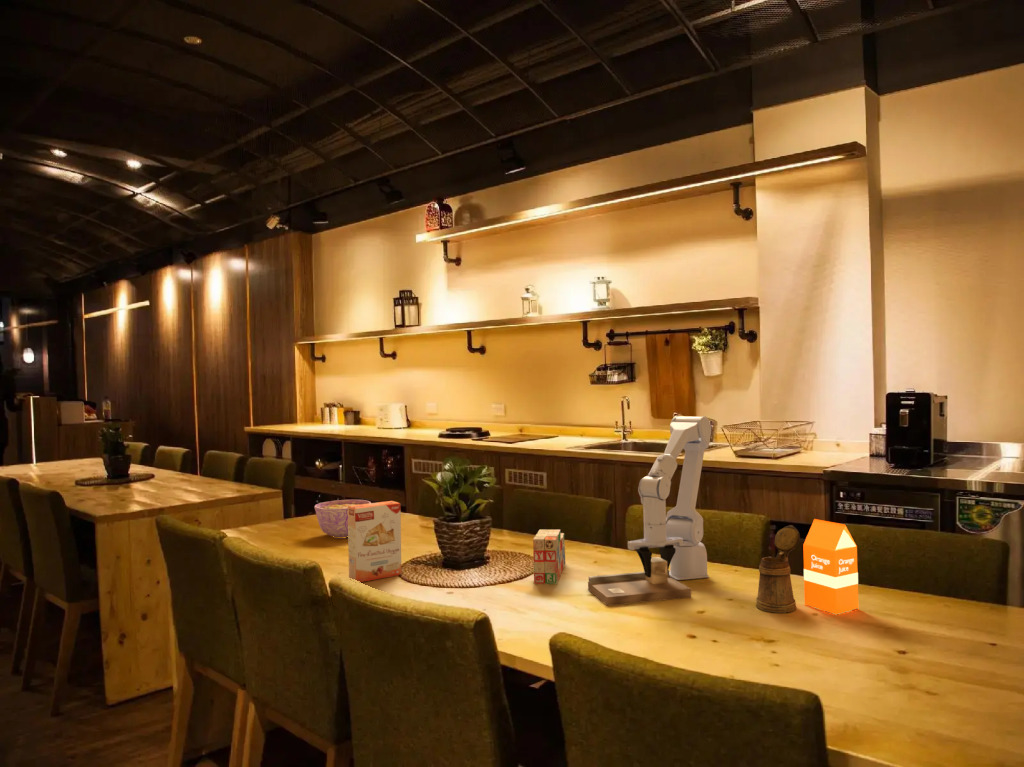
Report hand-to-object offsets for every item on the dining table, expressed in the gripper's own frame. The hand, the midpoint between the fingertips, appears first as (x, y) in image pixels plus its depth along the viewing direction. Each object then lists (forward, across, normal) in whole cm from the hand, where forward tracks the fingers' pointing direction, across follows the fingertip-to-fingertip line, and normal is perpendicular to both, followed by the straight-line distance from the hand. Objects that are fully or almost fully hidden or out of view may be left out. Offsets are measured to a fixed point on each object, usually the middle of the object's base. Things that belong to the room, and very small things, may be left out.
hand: (656, 575), depth 187 cm
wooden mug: (+4, +22, -21) cm, 31 cm away
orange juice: (+4, +32, -26) cm, 42 cm away
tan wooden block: (+1, 0, 0) cm, 1 cm away
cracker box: (+4, -70, +35) cm, 78 cm away
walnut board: (+3, -6, -2) cm, 7 cm away
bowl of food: (+4, -79, +96) cm, 124 cm away
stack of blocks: (+4, -22, +23) cm, 32 cm away
